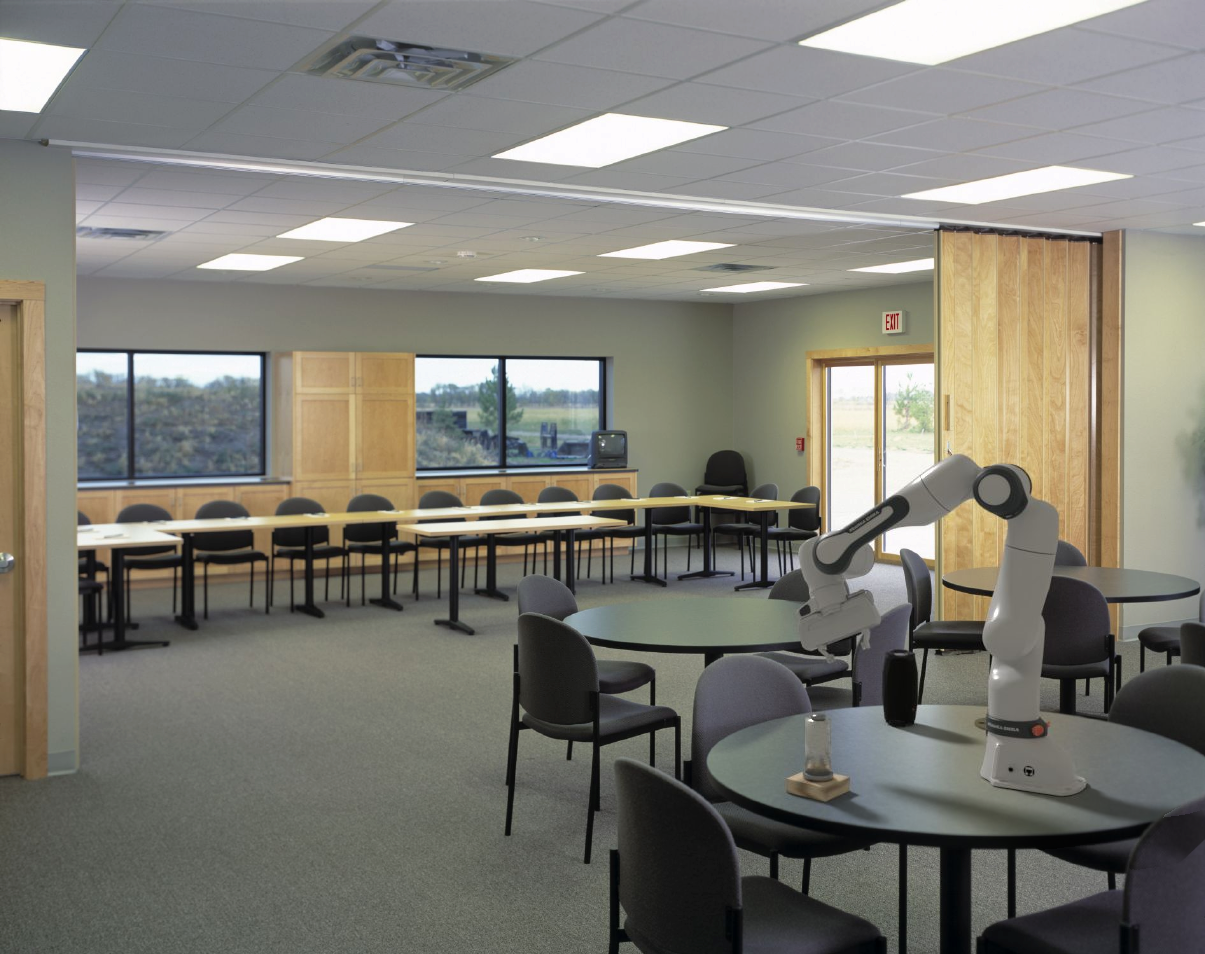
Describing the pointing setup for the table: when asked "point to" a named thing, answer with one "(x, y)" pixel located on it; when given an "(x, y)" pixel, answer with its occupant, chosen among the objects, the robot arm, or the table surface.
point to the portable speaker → (900, 687)
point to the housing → (818, 748)
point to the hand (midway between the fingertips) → (849, 655)
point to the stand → (818, 787)
